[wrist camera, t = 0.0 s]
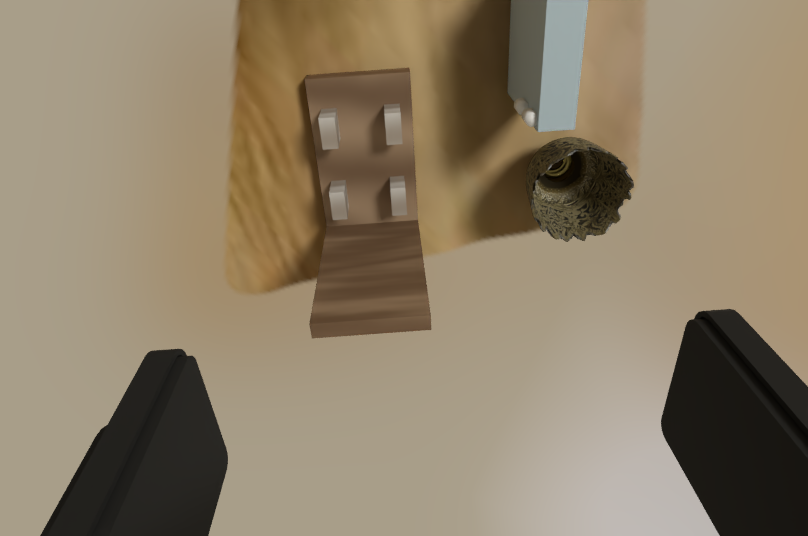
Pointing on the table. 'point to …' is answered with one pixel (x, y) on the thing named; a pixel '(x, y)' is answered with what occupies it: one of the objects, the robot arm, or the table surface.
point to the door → (546, 61)
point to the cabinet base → (367, 205)
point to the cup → (576, 188)
